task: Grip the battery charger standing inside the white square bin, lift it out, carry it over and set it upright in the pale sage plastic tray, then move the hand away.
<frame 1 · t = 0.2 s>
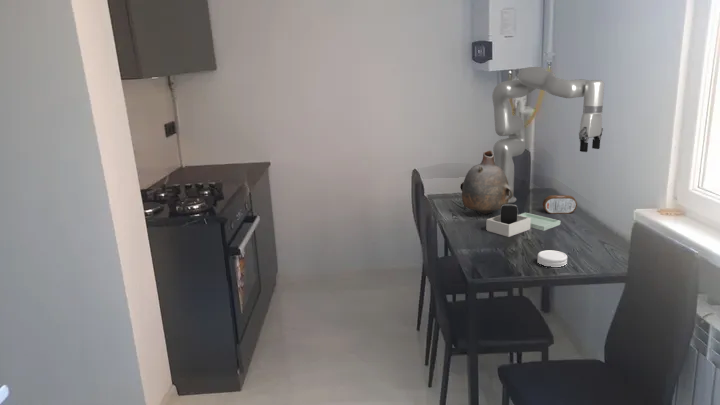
hand: (589, 150, 231), 31 cm above the table, tool pointing down, fingers open, 9 cm apart
tray: (534, 223, 236), on the table
battery charger: (508, 230, 229), resting in white square bin
tin: (559, 213, 249), on the table
white round disc: (551, 264, 191), on the table
white square bin: (508, 229, 229), on the table
jug: (485, 214, 252), on the table
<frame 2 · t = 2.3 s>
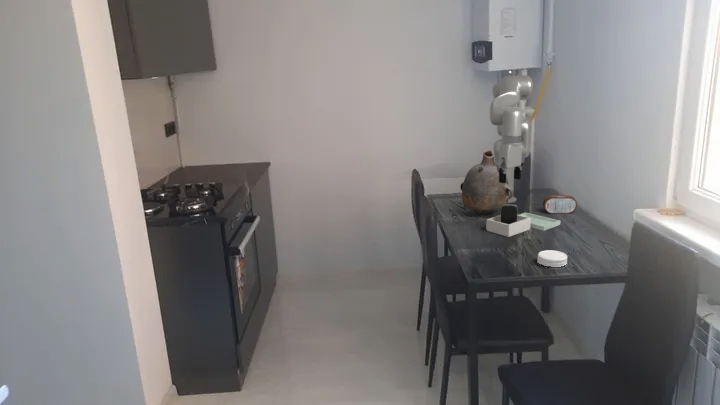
hand: (509, 180, 223), 22 cm above the table, tool pointing down, fingers open, 9 cm apart
nothing on the table moved.
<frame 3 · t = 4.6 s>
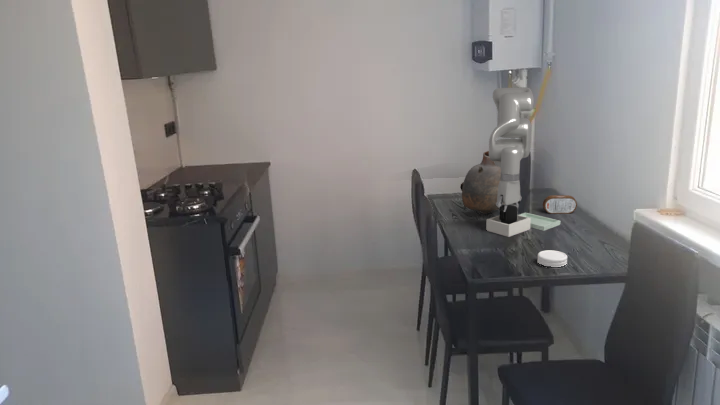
hand: (508, 218, 227), 5 cm above the table, tool pointing down, fingers closed on battery charger, 6 cm apart
battery charger: (508, 230, 229), resting in white square bin, touching gripper
everything else where it was.
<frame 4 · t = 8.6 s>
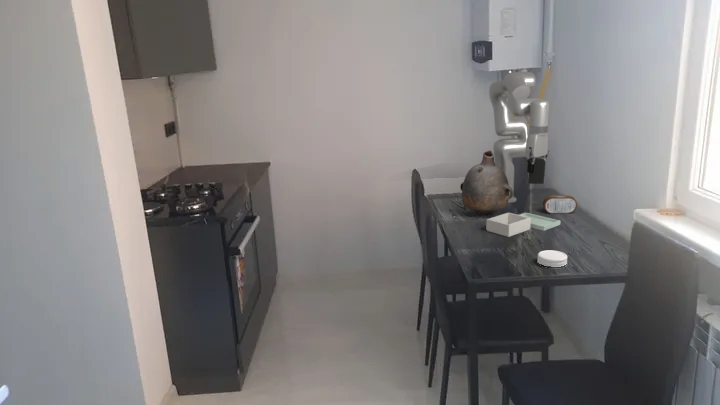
hand: (536, 171, 230), 23 cm above the table, tool pointing down, fingers closed on battery charger, 6 cm apart
battery charger: (535, 183, 232), point 18 cm above the table, touching gripper
everything else where it was.
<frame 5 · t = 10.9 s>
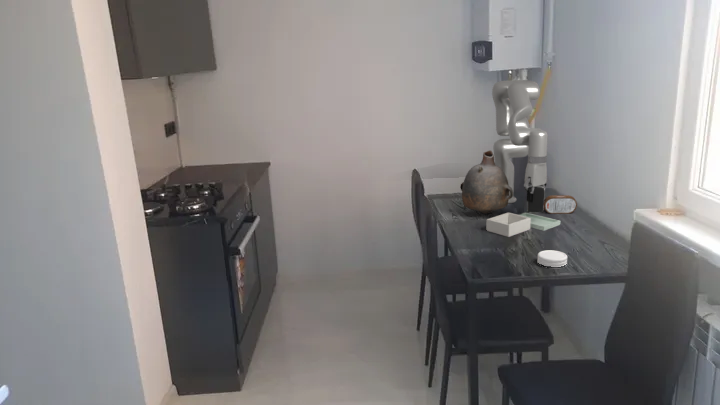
hand: (535, 199, 233), 11 cm above the table, tool pointing down, fingers closed on battery charger, 6 cm apart
battery charger: (534, 211, 235), point 5 cm above the table, touching gripper
everything else where it was.
when the fingers open (7 cm above the table, at t = 12.7 s): battery charger drops 1 cm, resting on tray.
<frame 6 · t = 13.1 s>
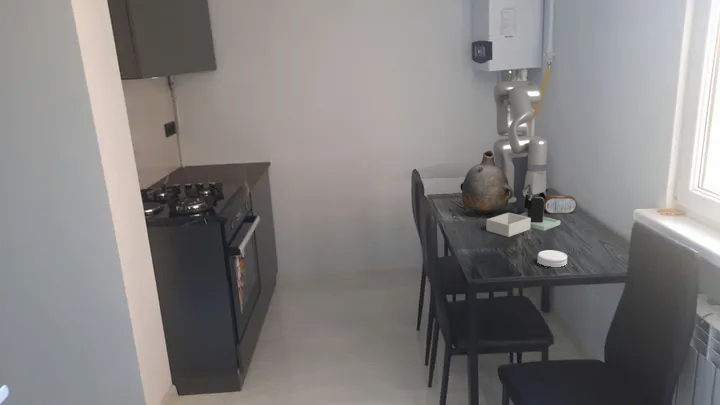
hand: (534, 206, 234), 8 cm above the table, tool pointing down, fingers open, 9 cm apart
battery charger: (534, 221, 236), resting on tray
everything else where it was.
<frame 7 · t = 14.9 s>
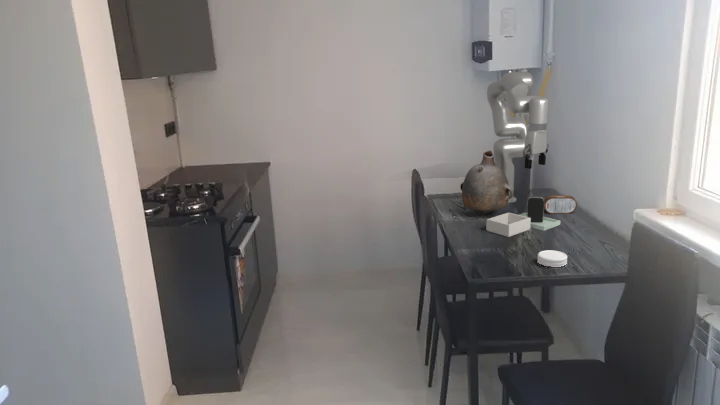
hand: (534, 166, 233), 25 cm above the table, tool pointing down, fingers open, 9 cm apart
nothing on the table moved.
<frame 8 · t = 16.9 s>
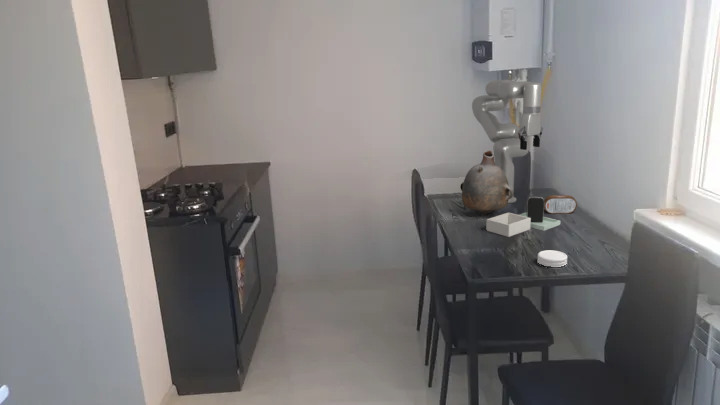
hand: (529, 148, 246), 30 cm above the table, tool pointing down, fingers open, 9 cm apart
nothing on the table moved.
at the end: battery charger inside the target area on the tray (0.6 cm from its centre), point 0.4 cm above the tray's base; battery charger tilted 0°; the gripper is holding nothing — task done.
